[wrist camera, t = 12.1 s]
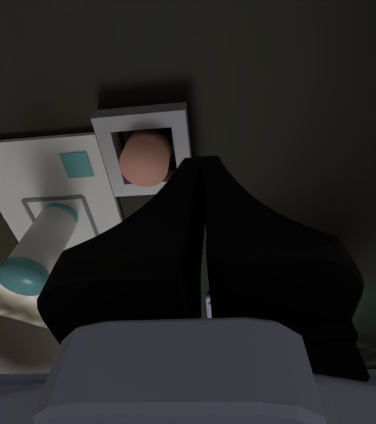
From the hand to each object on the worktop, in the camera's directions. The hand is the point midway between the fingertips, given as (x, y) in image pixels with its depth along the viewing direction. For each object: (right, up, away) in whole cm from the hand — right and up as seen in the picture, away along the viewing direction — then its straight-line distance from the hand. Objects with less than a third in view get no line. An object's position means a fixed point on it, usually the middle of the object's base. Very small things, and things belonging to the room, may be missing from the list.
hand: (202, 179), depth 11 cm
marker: (-11, -2, +14) cm, 18 cm away
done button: (-3, +3, +10) cm, 11 cm away
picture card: (-11, -2, +15) cm, 19 cm away
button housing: (-3, +3, +10) cm, 11 cm away
